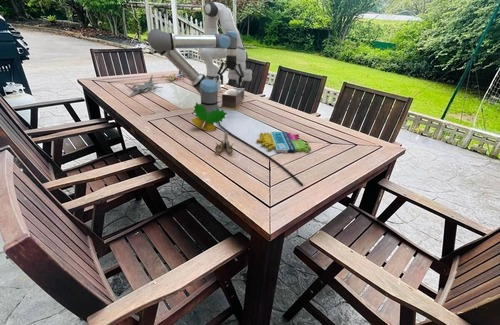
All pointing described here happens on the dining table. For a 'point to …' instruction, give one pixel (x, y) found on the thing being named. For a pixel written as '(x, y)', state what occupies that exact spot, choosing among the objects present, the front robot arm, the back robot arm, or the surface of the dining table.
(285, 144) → the multicolored flat piece
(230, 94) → the brown-grey rectangular block
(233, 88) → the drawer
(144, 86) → the airplane
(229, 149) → the jawbone
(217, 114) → the ornament
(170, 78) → the toy
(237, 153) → the dining table surface
